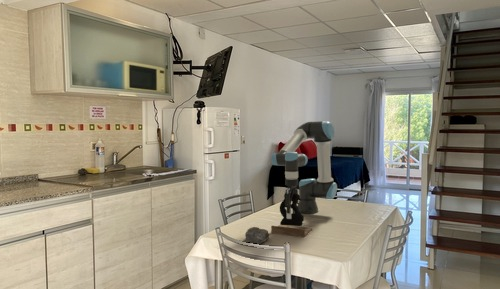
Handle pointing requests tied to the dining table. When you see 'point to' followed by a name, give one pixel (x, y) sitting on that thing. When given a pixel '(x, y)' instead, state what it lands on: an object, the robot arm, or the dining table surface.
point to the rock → (256, 235)
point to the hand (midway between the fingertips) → (291, 216)
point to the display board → (291, 230)
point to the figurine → (295, 217)
